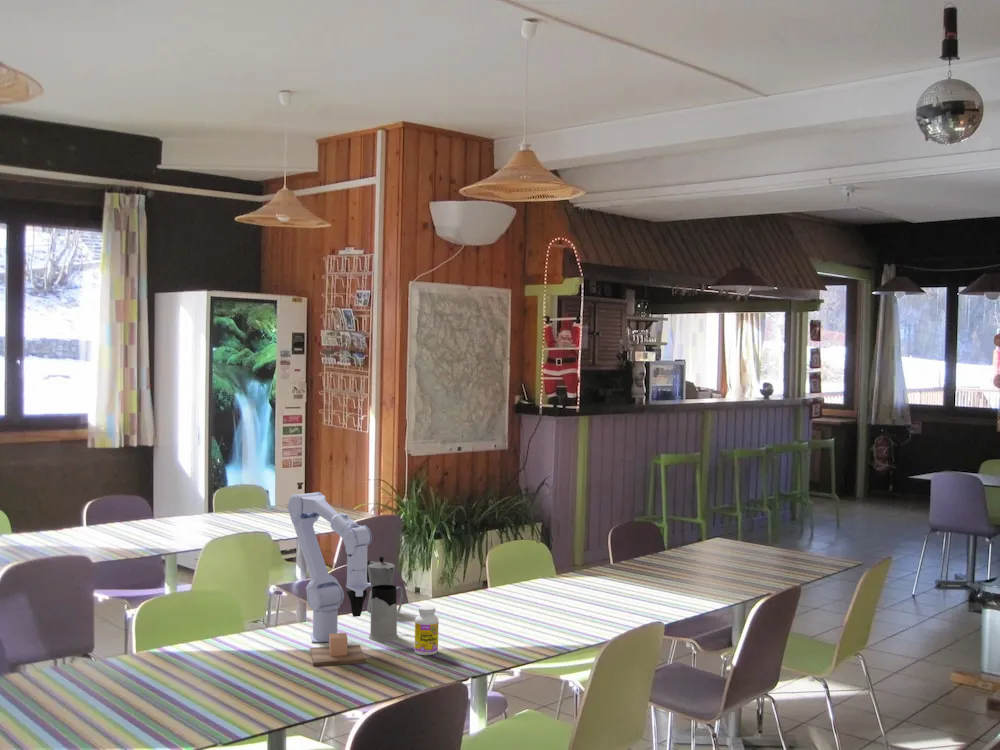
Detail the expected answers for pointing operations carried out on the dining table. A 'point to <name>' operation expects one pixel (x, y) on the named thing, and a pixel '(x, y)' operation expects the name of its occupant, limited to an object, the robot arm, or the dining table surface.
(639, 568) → the dining table surface
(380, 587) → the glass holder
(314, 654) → the post base
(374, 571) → the coffeepot
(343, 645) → the peach tilted cube
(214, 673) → the dining table surface
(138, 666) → the dining table surface
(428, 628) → the supplement bottle
